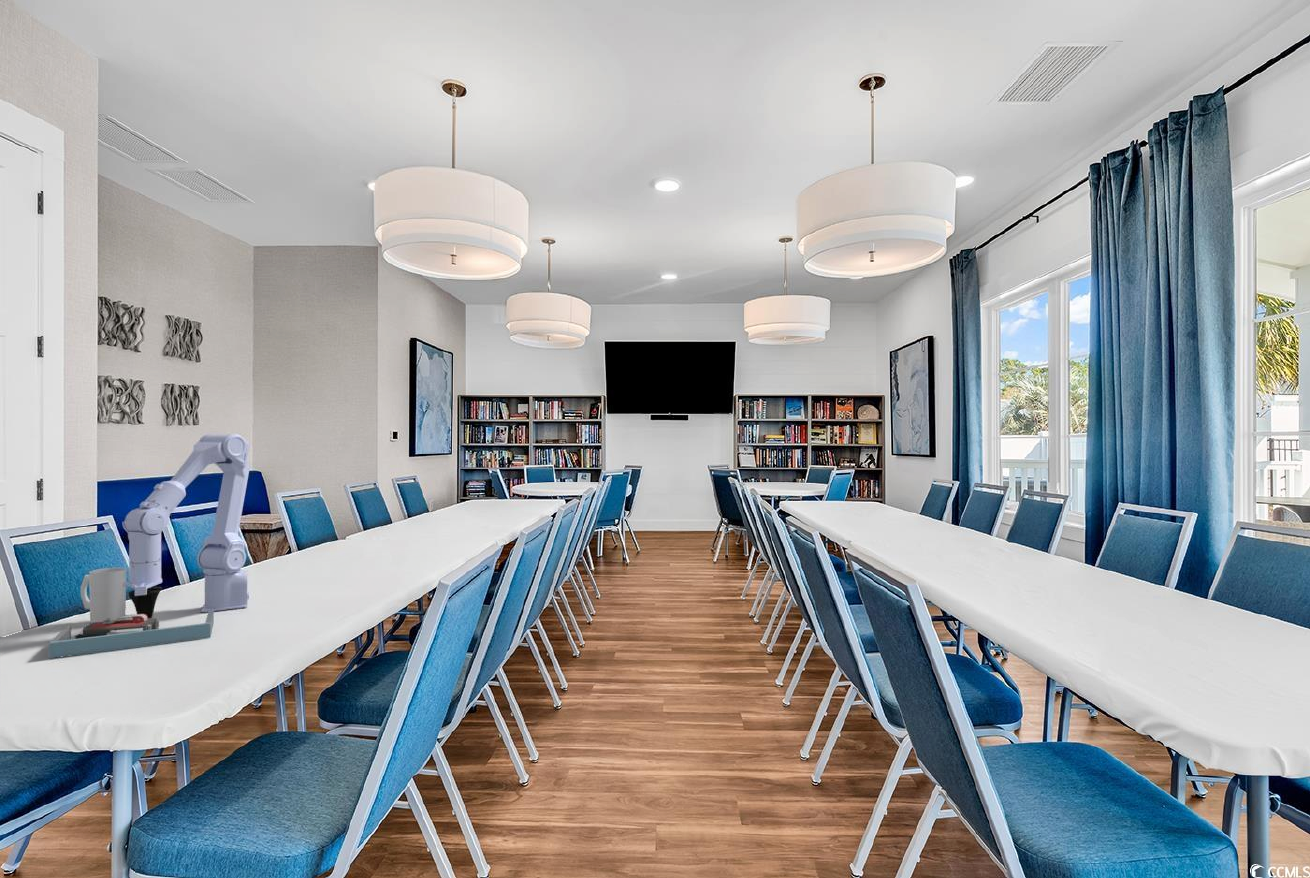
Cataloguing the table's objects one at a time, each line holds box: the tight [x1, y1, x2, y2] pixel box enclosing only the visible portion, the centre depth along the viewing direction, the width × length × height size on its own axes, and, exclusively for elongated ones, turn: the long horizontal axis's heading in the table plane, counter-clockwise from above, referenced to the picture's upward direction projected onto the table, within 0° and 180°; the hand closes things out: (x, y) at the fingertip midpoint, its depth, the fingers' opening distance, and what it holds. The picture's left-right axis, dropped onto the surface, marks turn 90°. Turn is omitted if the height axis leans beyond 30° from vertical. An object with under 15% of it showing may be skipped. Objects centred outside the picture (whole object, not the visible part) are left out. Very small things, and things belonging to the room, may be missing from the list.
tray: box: [48, 611, 215, 659], centre depth 139 cm, size 26×12×3 cm, turn 122°
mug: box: [80, 567, 127, 624], centre depth 153 cm, size 10×7×12 cm, turn 86°
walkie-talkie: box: [74, 613, 160, 639], centre depth 143 cm, size 9×4×20 cm
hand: (145, 621), depth 148 cm, fingers closed
